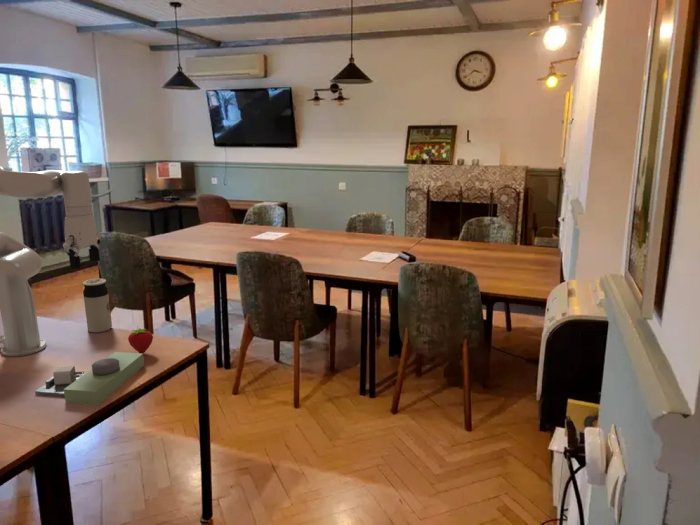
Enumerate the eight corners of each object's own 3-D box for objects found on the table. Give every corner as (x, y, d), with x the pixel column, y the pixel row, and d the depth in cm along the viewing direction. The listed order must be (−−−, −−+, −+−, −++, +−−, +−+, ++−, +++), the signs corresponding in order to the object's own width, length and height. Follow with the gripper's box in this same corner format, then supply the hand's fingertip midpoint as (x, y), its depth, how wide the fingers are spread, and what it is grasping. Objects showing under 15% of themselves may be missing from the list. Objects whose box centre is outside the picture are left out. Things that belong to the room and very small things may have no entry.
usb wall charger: (60, 379, 148) (58, 366, 147) (86, 377, 149) (84, 364, 148) (54, 385, 144) (52, 372, 143) (81, 384, 145) (79, 370, 144)
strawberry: (152, 357, 165) (149, 327, 162) (127, 358, 164) (124, 328, 161) (156, 349, 170) (153, 321, 168) (132, 350, 169) (129, 321, 167)
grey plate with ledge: (35, 394, 141) (34, 386, 140) (64, 374, 153) (63, 366, 152) (71, 397, 140) (70, 388, 139) (97, 377, 151) (96, 369, 151)
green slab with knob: (64, 402, 137) (61, 382, 135) (115, 363, 160) (113, 345, 158) (97, 405, 136) (94, 384, 134) (144, 365, 159) (142, 347, 157)
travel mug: (83, 333, 184) (77, 284, 179) (94, 324, 192) (89, 278, 187) (105, 333, 184) (99, 284, 179) (116, 325, 191) (110, 278, 187)
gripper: (85, 207, 170) (91, 257, 174) (48, 215, 153) (56, 271, 157) (106, 207, 169) (112, 258, 173) (72, 215, 152) (79, 272, 156)
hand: (85, 264), depth 165 cm, fingers open, 9 cm apart
